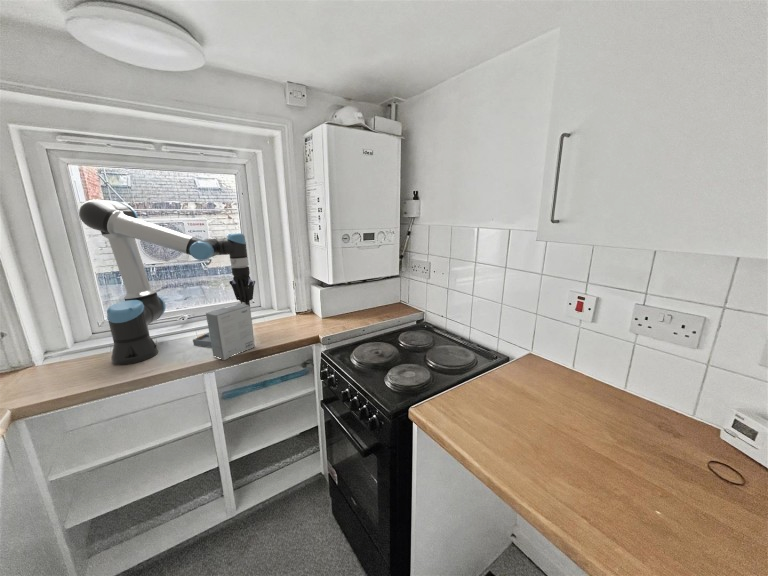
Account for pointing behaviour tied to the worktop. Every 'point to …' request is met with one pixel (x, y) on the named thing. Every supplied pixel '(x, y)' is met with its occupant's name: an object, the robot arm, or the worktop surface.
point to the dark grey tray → (202, 340)
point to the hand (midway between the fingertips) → (246, 313)
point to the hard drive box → (230, 330)
